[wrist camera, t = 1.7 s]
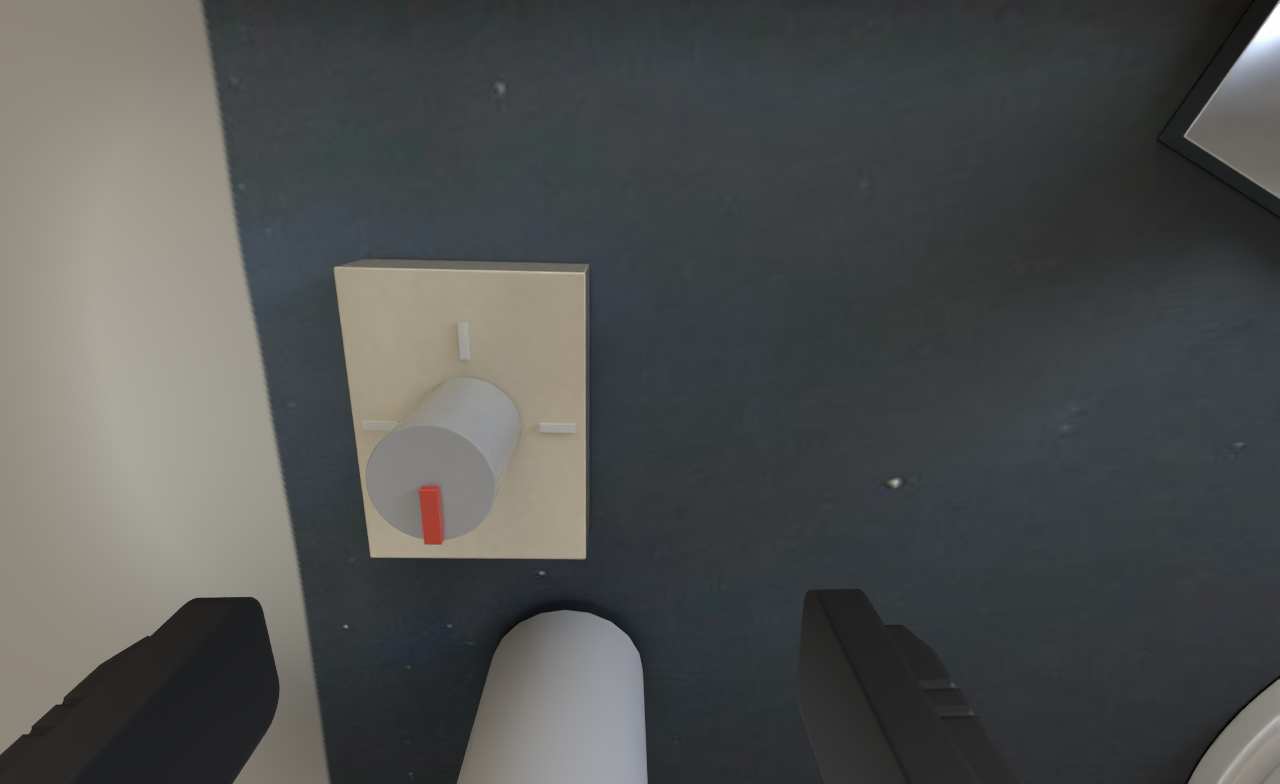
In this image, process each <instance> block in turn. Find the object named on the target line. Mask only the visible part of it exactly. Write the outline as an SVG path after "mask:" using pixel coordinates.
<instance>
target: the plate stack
mask: <svg viewBox="0 0 1280 784" xmlns="http://www.w3.org/2000/svg"><path fill="white" fill-rule="evenodd" d="M1188 784H1280V679H1278V680H1277V681H1276V682H1274V683H1273V684H1272V685H1271V686H1269V687H1268V688H1267V689H1266V690H1264V691H1263V692H1262V693H1261V694H1260V695H1259V696H1257V697H1256V698H1255V699H1254V700H1253V701H1252V702H1251V703H1250V704H1249V705H1247V706H1246V707H1245V708H1244V709H1243V710H1242V711H1241V712H1240V713H1239V714H1238V715H1237V716H1236V717H1235V718H1234V719H1233V720H1232V721H1231V723H1230V724H1229V725H1228V726H1227V727H1226V728H1225V729H1224V730H1223V732H1222V733H1221V734H1220V735H1219V736H1218V737H1217V739H1216V740H1215V741H1214V743H1213V744H1212V745H1211V746H1210V748H1209V749H1208V751H1207V752H1206V753H1205V755H1204V756H1203V758H1202V759H1201V761H1200V762H1199V764H1198V766H1197V767H1196V769H1195V771H1194V772H1193V774H1192V776H1191V778H1190V780H1189V782H1188Z"/></svg>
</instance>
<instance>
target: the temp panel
mask: <svg viewBox="0 0 1280 784" xmlns="http://www.w3.org/2000/svg"><path fill="white" fill-rule="evenodd" d="M334 275H335V283H336V291H337V298H338V306H339V314H340V322H341V330H342V337H343V345H344V353H345V361H346V369H347V376H348V384H349V392H350V400H351V408H352V415H353V423H354V431H355V439H356V447H357V454H358V462H359V470H360V478H361V486H362V493H363V501H364V509H365V517H366V524H367V532H368V540H369V548H370V556H371V557H372V558H496V559H585V558H586V553H587V543H588V533H589V523H590V266H589V264H566V263H523V262H480V261H437V260H395V259H365V260H361V261H357V262H353V263H349V264H345V265H341V266H337V267H334ZM464 377H467V378H476V379H480V380H483V381H486V382H489V383H491V384H493V385H494V386H496V387H498V388H499V389H500V390H502V391H503V392H504V393H505V394H506V395H507V396H508V397H509V398H510V400H511V401H512V402H513V404H514V405H515V407H516V409H517V412H518V414H519V418H520V422H521V436H520V441H519V444H518V447H517V449H516V451H515V454H514V456H513V459H512V461H511V463H510V466H509V468H508V470H507V473H506V475H505V478H504V480H503V482H502V485H501V487H500V489H499V492H498V494H497V497H496V499H495V501H494V504H493V506H492V508H491V510H490V512H489V514H488V515H487V517H486V518H485V519H484V520H483V521H482V523H481V524H480V525H478V526H477V527H476V528H475V529H473V530H472V531H470V532H468V533H466V534H464V535H462V536H460V537H456V538H453V539H447V540H444V541H443V543H442V545H425V544H424V539H420V538H416V537H413V536H410V535H408V534H405V533H403V532H401V531H399V530H398V529H396V528H395V527H393V526H392V525H390V524H389V523H388V522H387V521H386V520H385V519H384V518H383V517H382V516H381V515H380V514H379V513H378V511H377V510H376V508H375V507H374V505H373V503H372V501H371V499H370V497H369V494H368V491H367V486H366V468H367V464H368V460H369V458H370V455H371V453H372V452H373V450H374V448H375V447H376V446H377V445H378V443H379V442H380V441H381V440H382V439H383V438H384V437H385V436H386V435H387V434H388V433H389V432H390V431H391V430H392V429H393V428H394V427H395V426H396V425H397V424H398V423H399V422H400V421H401V420H402V419H403V418H404V417H405V416H406V415H407V414H408V413H409V412H410V411H411V410H412V409H413V408H414V407H415V406H416V405H417V404H418V403H419V402H420V401H421V400H422V399H423V398H424V397H425V396H426V395H427V394H428V393H429V392H430V391H431V390H432V389H433V388H434V387H436V386H437V385H439V384H440V383H443V382H445V381H447V380H450V379H455V378H464Z"/></svg>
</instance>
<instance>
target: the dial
mask: <svg viewBox="0 0 1280 784" xmlns="http://www.w3.org/2000/svg"><path fill="white" fill-rule="evenodd" d="M520 436H521V422H520V418H519V414H518V412H517V409H516V407H515V405H514V404H513V402H512V401H511V400H510V398H509V397H508V396H507V395H506V394H505V393H504V392H503V391H502V390H500V389H499V388H498V387H496V386H494V385H493V384H491V383H489V382H486V381H483V380H480V379H476V378H467V377H464V378H455V379H450V380H447V381H445V382H443V383H440V384H439V385H437V386H436V387H434V388H433V389H432V390H431V391H430V392H429V393H428V394H427V395H426V396H425V397H424V398H423V399H422V400H421V401H420V402H419V403H418V404H417V405H416V406H415V407H414V408H413V409H412V410H411V411H410V412H409V413H408V414H407V415H406V416H405V417H404V418H403V419H402V420H401V421H400V422H399V423H398V424H397V425H396V426H395V427H394V428H393V429H392V430H391V431H390V432H389V433H388V434H387V435H386V436H385V437H384V438H383V439H382V440H381V441H380V442H379V443H378V445H377V446H376V447H375V448H374V450H373V452H372V453H371V455H370V458H369V460H368V464H367V468H366V486H367V491H368V494H369V497H370V499H371V501H372V503H373V505H374V507H375V508H376V510H377V511H378V513H379V514H380V515H381V516H382V517H383V518H384V519H385V520H386V521H387V522H388V523H389V524H390V525H392V526H393V527H395V528H396V529H398V530H399V531H401V532H403V533H405V534H408V535H410V536H413V537H416V538H420V539H424V544H425V545H442V543H443V541H444V540H447V539H453V538H456V537H460V536H462V535H464V534H466V533H468V532H470V531H472V530H473V529H475V528H476V527H477V526H478V525H480V524H481V523H482V521H483V520H484V519H485V518H486V517H487V515H488V514H489V512H490V510H491V508H492V506H493V504H494V501H495V499H496V497H497V494H498V492H499V489H500V487H501V485H502V482H503V480H504V478H505V475H506V473H507V470H508V468H509V466H510V463H511V461H512V459H513V456H514V454H515V451H516V449H517V447H518V444H519V441H520Z"/></svg>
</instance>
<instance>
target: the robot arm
mask: <svg viewBox="0 0 1280 784" xmlns="http://www.w3.org/2000/svg"><path fill="white" fill-rule="evenodd" d="M797 693H798V701H799V707H800V711H801V715H802V719H803V722H804V725H805V728H806V731H807V734H808V737H809V740H810V742H811V745H812V748H813V751H814V754H815V757H816V760H817V763H818V766H819V768H820V771H821V774H822V777H823V780H824V783H825V784H1025V783H1024V781H1023V780H1022V778H1021V777H1020V775H1019V774H1018V772H1017V771H1016V769H1015V768H1014V767H1013V765H1012V764H1011V762H1010V761H1009V759H1008V758H1007V756H1006V755H1005V753H1004V752H1003V751H1002V749H1001V748H1000V746H999V745H998V743H997V742H996V740H995V739H994V737H993V736H992V734H991V733H990V732H989V730H988V729H987V727H986V726H985V724H984V723H983V721H982V720H981V718H980V717H979V716H975V714H974V708H973V707H972V705H971V704H970V702H969V701H968V699H967V698H966V697H965V695H964V694H963V692H962V691H961V689H960V688H956V685H955V680H954V679H953V678H952V676H951V675H950V673H949V672H948V670H947V669H946V667H945V666H944V664H943V663H942V662H941V660H940V659H939V657H938V656H937V654H936V653H935V651H934V650H933V649H931V648H930V647H929V646H928V645H926V644H925V643H924V642H923V641H921V640H920V639H919V638H918V637H916V636H915V635H914V634H913V633H911V632H910V631H909V630H908V629H906V628H905V627H904V626H903V625H884V624H883V622H882V620H881V619H880V617H879V616H878V614H877V612H876V611H875V609H874V607H873V606H872V604H871V602H870V601H869V599H868V598H867V596H866V595H865V593H864V592H863V591H862V590H860V589H826V590H809V591H808V592H807V593H806V596H805V600H804V609H803V618H802V628H801V637H800V647H799V657H798V666H797ZM278 699H279V679H278V675H277V670H276V666H275V661H274V657H273V653H272V649H271V644H270V639H269V635H268V631H267V626H266V623H265V618H264V613H263V610H262V607H261V605H260V603H259V602H258V600H256V599H255V598H252V597H222V598H195V599H192V600H190V601H189V602H187V603H186V604H185V605H183V606H182V607H181V608H180V609H179V610H178V611H177V612H176V613H175V614H174V615H173V616H172V617H171V618H170V619H169V620H167V621H166V622H165V623H164V624H163V625H162V626H161V627H160V628H159V629H158V630H157V631H156V632H155V633H154V634H153V635H151V636H147V637H145V638H143V639H141V640H140V641H138V642H136V643H135V644H133V645H132V646H130V647H128V648H127V649H125V650H123V651H122V652H120V653H118V654H117V655H115V656H113V657H112V658H110V659H109V660H107V661H105V662H104V663H102V664H101V665H99V666H98V667H97V668H96V669H95V670H94V671H93V672H92V673H90V674H89V675H88V676H87V677H86V678H85V679H84V680H83V681H82V682H81V683H79V684H78V685H77V686H76V687H75V688H74V689H73V690H72V691H71V692H69V693H68V694H67V695H66V696H65V697H64V701H63V703H62V704H61V705H55V706H54V707H53V708H52V709H51V710H50V711H48V712H47V713H46V714H45V715H44V716H43V717H42V718H41V719H40V720H39V721H37V722H36V723H35V724H34V725H33V726H32V730H31V732H30V733H29V734H27V735H26V734H24V735H22V736H21V737H20V738H19V739H18V740H16V741H15V742H14V743H13V744H12V745H11V746H10V747H9V748H8V749H6V750H5V751H4V752H3V753H2V754H1V755H0V784H232V783H233V782H234V780H235V779H236V777H237V776H238V774H239V773H240V771H241V769H242V768H243V767H244V765H245V763H246V762H247V761H248V759H249V757H250V756H251V755H252V753H253V752H254V750H255V749H256V747H257V745H258V744H259V743H260V741H261V739H262V738H263V736H264V735H265V733H266V732H267V730H268V728H269V727H270V725H271V723H272V720H273V718H274V715H275V712H276V708H277V704H278Z"/></svg>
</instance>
